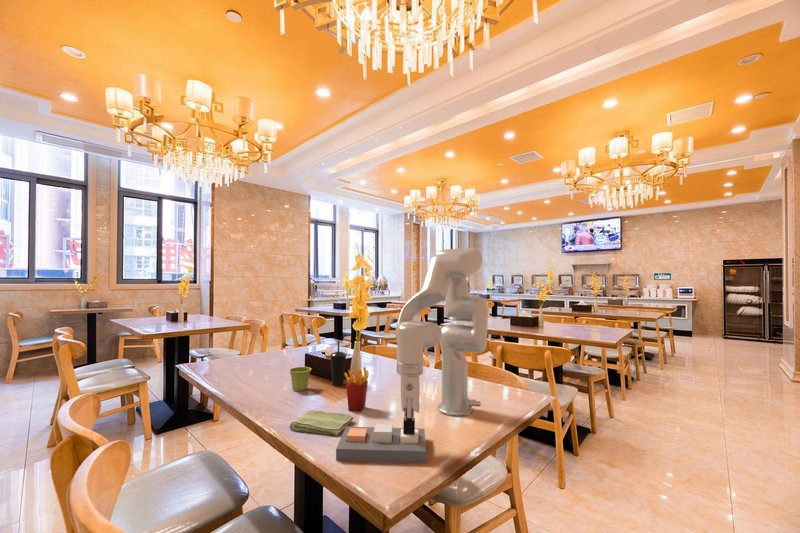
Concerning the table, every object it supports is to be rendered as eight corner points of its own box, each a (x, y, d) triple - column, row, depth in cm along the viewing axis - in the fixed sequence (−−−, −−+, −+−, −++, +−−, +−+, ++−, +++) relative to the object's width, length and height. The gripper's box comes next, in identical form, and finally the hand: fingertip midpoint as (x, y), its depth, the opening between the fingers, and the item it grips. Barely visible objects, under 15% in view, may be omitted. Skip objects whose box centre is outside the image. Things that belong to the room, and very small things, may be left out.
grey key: (392, 435, 101) (392, 424, 101) (391, 443, 96) (391, 432, 96) (375, 435, 101) (375, 424, 101) (373, 443, 96) (373, 431, 96)
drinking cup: (338, 388, 153) (339, 342, 154) (325, 385, 157) (326, 340, 158) (349, 383, 160) (350, 340, 160) (337, 381, 164) (338, 338, 164)
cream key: (418, 440, 101) (418, 429, 101) (418, 448, 96) (418, 437, 96) (400, 440, 101) (401, 428, 101) (400, 448, 96) (400, 436, 96)
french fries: (362, 412, 125) (363, 371, 125) (341, 411, 126) (341, 369, 127) (369, 404, 133) (370, 365, 134) (349, 402, 135) (350, 364, 136)
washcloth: (339, 438, 105) (339, 428, 105) (287, 432, 110) (287, 422, 110) (354, 421, 118) (354, 412, 118) (307, 416, 122) (308, 407, 122)
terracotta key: (366, 439, 101) (367, 428, 101) (364, 447, 96) (364, 436, 96) (349, 439, 101) (350, 428, 102) (346, 447, 96) (346, 435, 97)
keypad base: (424, 438, 105) (424, 428, 105) (426, 462, 91) (426, 451, 91) (346, 436, 106) (346, 426, 106) (335, 460, 92) (336, 448, 92)
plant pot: (294, 385, 156) (294, 366, 157) (314, 386, 155) (314, 367, 155) (284, 392, 147) (285, 371, 147) (305, 393, 146) (306, 372, 146)
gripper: (423, 375, 91) (422, 446, 91) (422, 362, 106) (421, 422, 105) (395, 374, 92) (394, 445, 91) (397, 361, 107) (397, 422, 106)
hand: (409, 433), depth 98 cm, fingers closed
